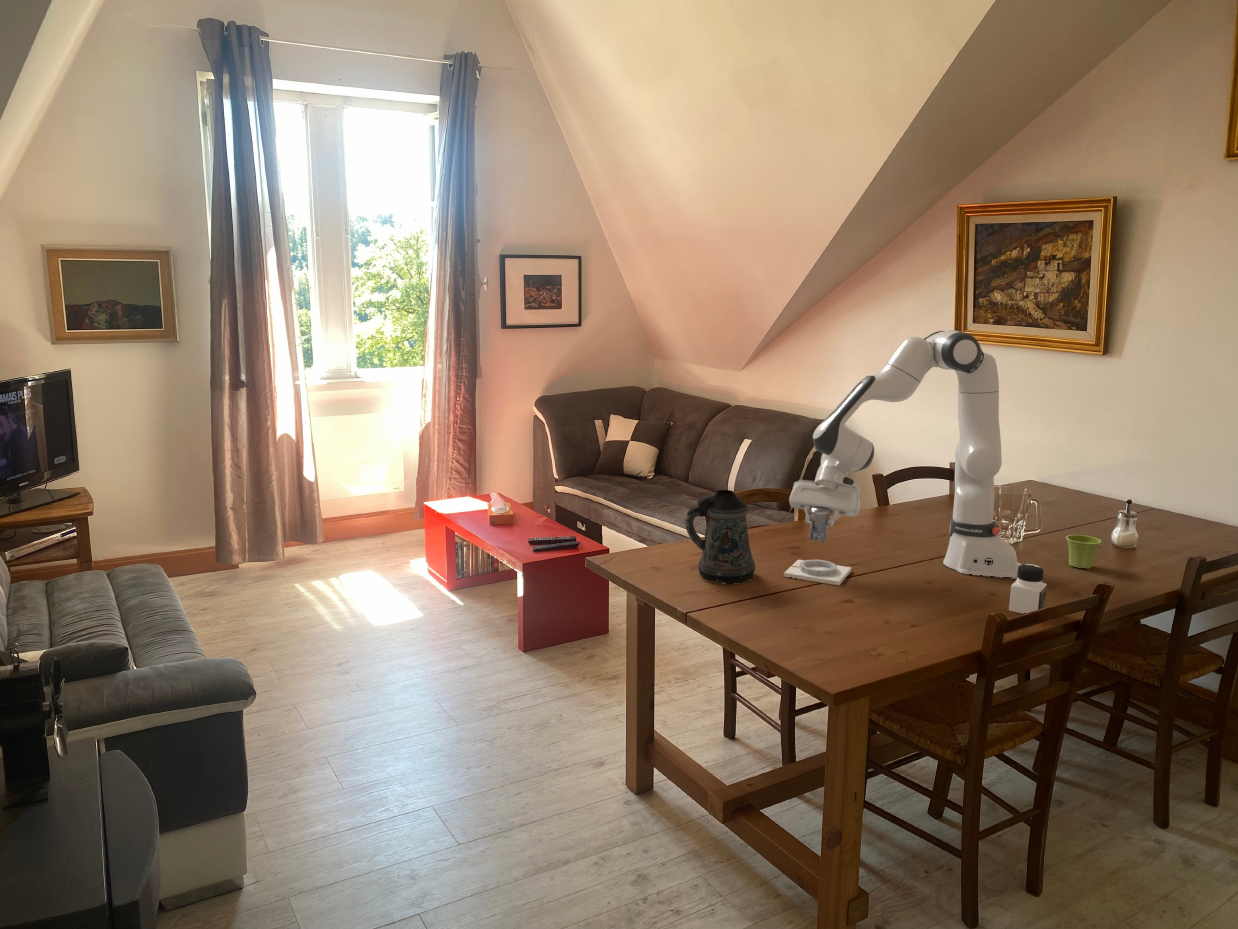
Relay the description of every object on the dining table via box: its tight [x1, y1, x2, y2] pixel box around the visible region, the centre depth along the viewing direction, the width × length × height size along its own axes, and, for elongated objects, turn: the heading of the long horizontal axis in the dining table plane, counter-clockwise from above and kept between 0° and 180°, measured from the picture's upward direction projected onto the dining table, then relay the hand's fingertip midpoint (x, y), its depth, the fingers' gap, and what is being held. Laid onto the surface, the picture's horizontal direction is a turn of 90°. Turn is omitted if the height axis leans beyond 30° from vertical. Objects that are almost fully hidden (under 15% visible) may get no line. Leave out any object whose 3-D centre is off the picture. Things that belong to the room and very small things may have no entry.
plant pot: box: [1065, 534, 1102, 568], centre depth 270 cm, size 9×9×9 cm
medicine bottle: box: [1008, 563, 1047, 615], centre depth 234 cm, size 7×7×12 cm
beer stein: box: [684, 489, 756, 585], centre depth 258 cm, size 16×19×25 cm
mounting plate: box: [783, 559, 852, 586], centre depth 263 cm, size 16×14×3 cm
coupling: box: [808, 507, 830, 542], centre depth 260 cm, size 5×5×9 cm
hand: (818, 523), depth 260 cm, fingers closed on coupling, 5 cm apart
